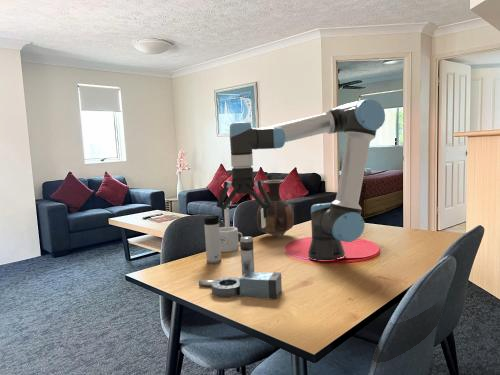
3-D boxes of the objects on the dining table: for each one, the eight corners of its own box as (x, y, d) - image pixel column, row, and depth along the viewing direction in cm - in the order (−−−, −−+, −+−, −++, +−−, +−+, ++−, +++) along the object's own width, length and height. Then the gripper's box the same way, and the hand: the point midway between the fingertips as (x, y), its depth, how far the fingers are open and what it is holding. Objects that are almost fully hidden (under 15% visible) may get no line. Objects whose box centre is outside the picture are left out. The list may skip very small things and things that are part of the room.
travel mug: (219, 264, 158) (216, 217, 156) (204, 263, 159) (201, 217, 157) (223, 259, 164) (221, 214, 162) (209, 259, 165) (206, 214, 163)
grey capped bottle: (256, 279, 137) (254, 236, 136) (253, 284, 133) (250, 239, 131) (244, 278, 139) (242, 236, 137) (240, 283, 134) (237, 239, 133)
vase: (257, 232, 211) (255, 179, 208) (292, 231, 210) (290, 177, 207) (257, 243, 188) (254, 183, 185) (296, 241, 187) (293, 181, 184)
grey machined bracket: (283, 288, 127) (282, 270, 127) (275, 301, 117) (274, 282, 116) (203, 283, 137) (201, 266, 136) (189, 294, 126) (187, 276, 126)
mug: (212, 251, 177) (211, 231, 176) (222, 245, 187) (221, 226, 186) (238, 253, 172) (237, 232, 171) (247, 247, 182) (246, 227, 181)
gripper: (279, 165, 131) (281, 225, 133) (213, 167, 139) (217, 224, 141) (274, 166, 124) (276, 229, 126) (205, 168, 132) (208, 228, 134)
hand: (245, 226), depth 134 cm, fingers open, 13 cm apart
